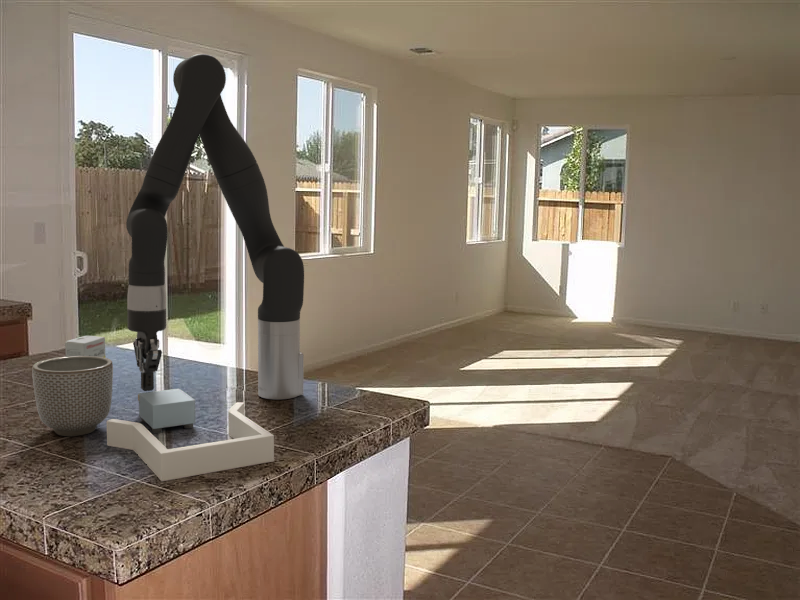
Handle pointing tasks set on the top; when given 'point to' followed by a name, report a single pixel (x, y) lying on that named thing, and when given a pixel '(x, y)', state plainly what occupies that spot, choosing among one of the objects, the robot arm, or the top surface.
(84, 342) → the ink box
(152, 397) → the light blue box
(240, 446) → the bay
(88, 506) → the top surface
